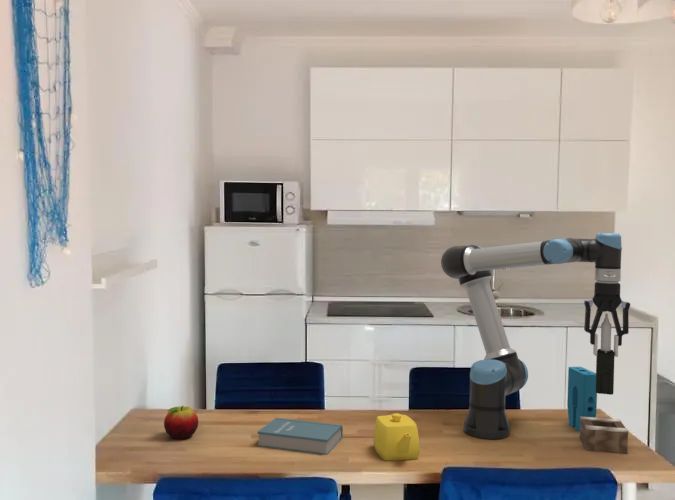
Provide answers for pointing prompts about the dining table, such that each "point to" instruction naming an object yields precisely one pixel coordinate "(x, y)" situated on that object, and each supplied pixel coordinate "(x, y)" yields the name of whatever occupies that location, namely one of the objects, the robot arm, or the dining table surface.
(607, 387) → the grey and black rod
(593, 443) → the holder
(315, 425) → the book
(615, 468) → the dining table surface
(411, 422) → the teapot
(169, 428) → the fruit
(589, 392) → the block
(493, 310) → the robot arm
